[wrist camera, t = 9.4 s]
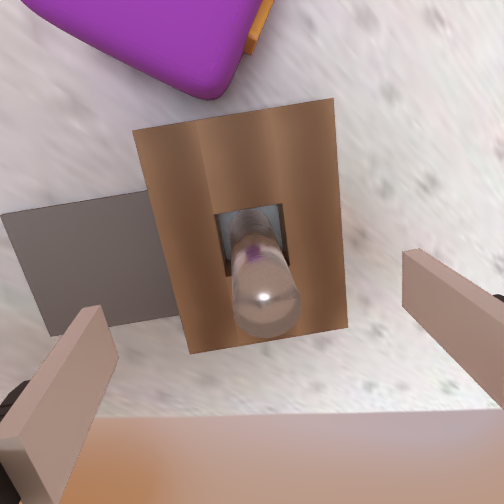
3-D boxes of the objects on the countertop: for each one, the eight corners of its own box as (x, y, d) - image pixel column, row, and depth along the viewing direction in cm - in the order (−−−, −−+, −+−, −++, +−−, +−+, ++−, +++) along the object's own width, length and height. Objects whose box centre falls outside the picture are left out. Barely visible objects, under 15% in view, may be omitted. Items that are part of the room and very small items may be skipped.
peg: (233, 250, 27) (239, 343, 16) (226, 212, 26) (227, 283, 15) (272, 243, 27) (305, 331, 16) (267, 205, 26) (297, 270, 15)
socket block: (193, 331, 29) (189, 354, 26) (143, 129, 24) (132, 130, 21) (336, 307, 29) (348, 327, 27) (320, 100, 24) (333, 97, 21)
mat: (52, 333, 28) (50, 336, 28) (2, 214, 25) (-1, 215, 25) (200, 308, 29) (200, 311, 28) (171, 186, 25) (171, 187, 25)
